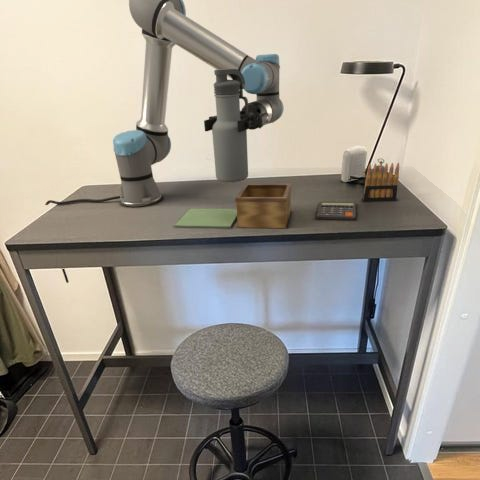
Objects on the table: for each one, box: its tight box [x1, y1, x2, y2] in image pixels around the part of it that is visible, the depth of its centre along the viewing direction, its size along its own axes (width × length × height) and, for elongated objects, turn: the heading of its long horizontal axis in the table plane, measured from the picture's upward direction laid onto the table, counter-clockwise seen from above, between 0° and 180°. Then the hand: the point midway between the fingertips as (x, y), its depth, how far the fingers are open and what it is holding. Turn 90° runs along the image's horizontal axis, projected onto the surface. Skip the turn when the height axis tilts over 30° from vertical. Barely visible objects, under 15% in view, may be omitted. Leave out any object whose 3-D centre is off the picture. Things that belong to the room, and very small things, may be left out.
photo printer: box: [340, 145, 368, 183], centre depth 153 cm, size 10×4×12 cm, turn 123°
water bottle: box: [211, 69, 249, 183], centre depth 112 cm, size 10×10×28 cm
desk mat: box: [174, 208, 237, 229], centre depth 129 cm, size 18×16×1 cm
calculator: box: [315, 200, 357, 221], centre depth 127 cm, size 12×1×15 cm
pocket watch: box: [371, 158, 389, 182], centre depth 145 cm, size 8×8×10 cm
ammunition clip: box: [362, 162, 400, 202], centre depth 131 cm, size 11×2×12 cm, turn 85°
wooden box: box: [234, 183, 292, 229], centre depth 122 cm, size 15×15×9 cm
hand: (221, 126), depth 108 cm, fingers closed on water bottle, 10 cm apart
